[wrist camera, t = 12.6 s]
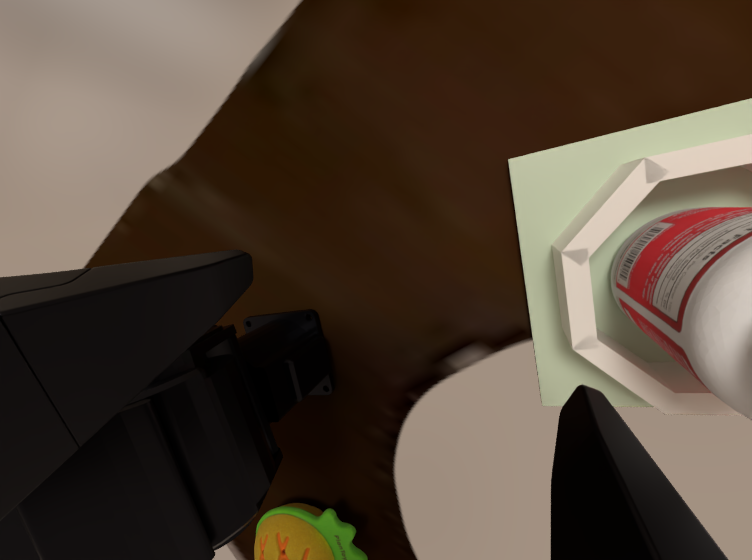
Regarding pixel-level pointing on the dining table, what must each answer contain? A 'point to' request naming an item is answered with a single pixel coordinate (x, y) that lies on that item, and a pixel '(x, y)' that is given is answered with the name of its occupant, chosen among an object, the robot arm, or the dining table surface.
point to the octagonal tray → (604, 239)
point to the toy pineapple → (304, 535)
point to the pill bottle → (694, 294)
